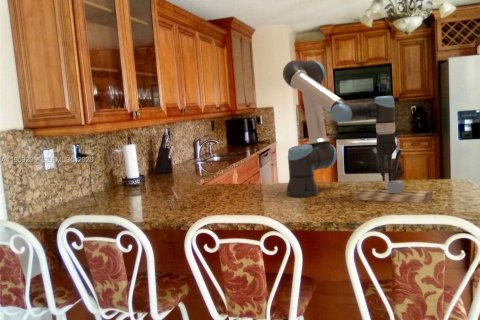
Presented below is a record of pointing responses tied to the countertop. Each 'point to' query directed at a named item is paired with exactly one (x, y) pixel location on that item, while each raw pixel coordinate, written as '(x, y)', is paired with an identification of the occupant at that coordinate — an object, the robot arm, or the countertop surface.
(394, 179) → the ice cream bowl
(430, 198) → the rail
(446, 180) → the countertop surface
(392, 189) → the rider
